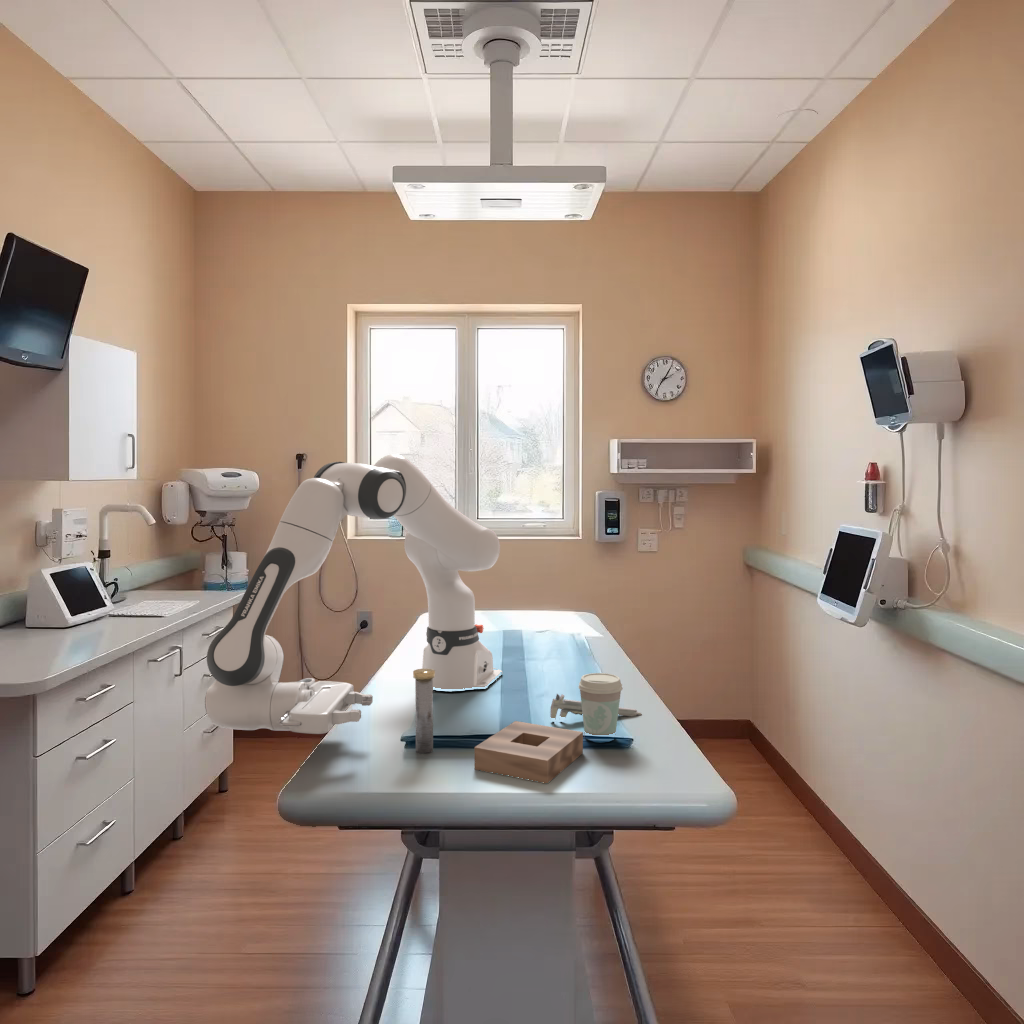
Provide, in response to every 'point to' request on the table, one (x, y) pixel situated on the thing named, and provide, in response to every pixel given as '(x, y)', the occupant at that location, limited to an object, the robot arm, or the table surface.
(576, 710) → the caliper
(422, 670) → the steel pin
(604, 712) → the coffee cup
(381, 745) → the table surface
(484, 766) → the walnut block
